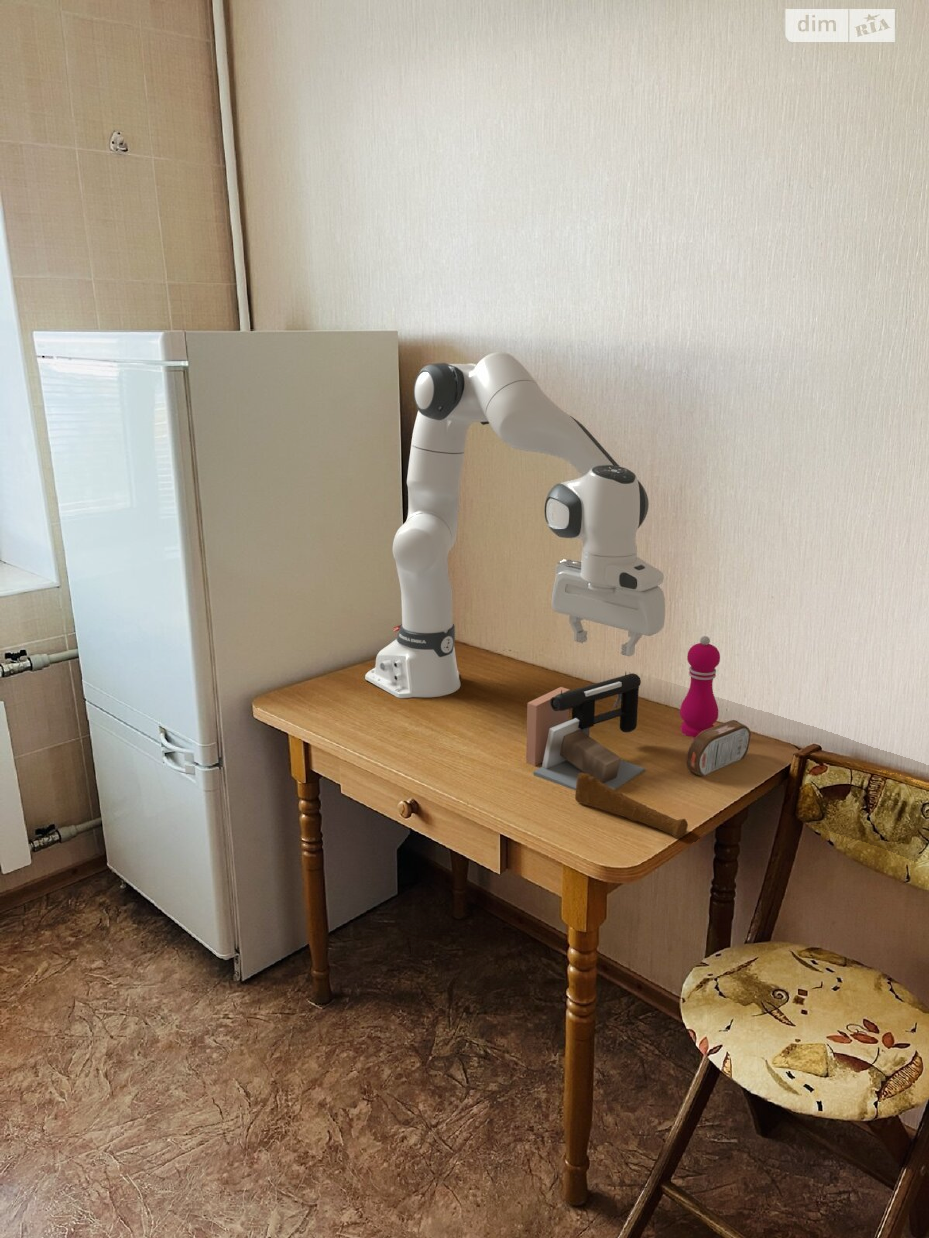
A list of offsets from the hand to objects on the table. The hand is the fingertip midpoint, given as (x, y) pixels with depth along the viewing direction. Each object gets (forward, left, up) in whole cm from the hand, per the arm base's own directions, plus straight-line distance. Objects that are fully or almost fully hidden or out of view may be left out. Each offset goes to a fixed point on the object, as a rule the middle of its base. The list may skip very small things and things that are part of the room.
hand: (603, 648), depth 154 cm
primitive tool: (+10, -9, -27) cm, 30 cm away
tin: (+14, +17, -25) cm, 33 cm away
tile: (-12, +1, -24) cm, 27 cm away
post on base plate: (-7, 0, -19) cm, 21 cm away
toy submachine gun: (-5, +7, -25) cm, 26 cm away
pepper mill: (+4, +28, -25) cm, 38 cm away
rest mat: (-2, 0, -24) cm, 24 cm away
